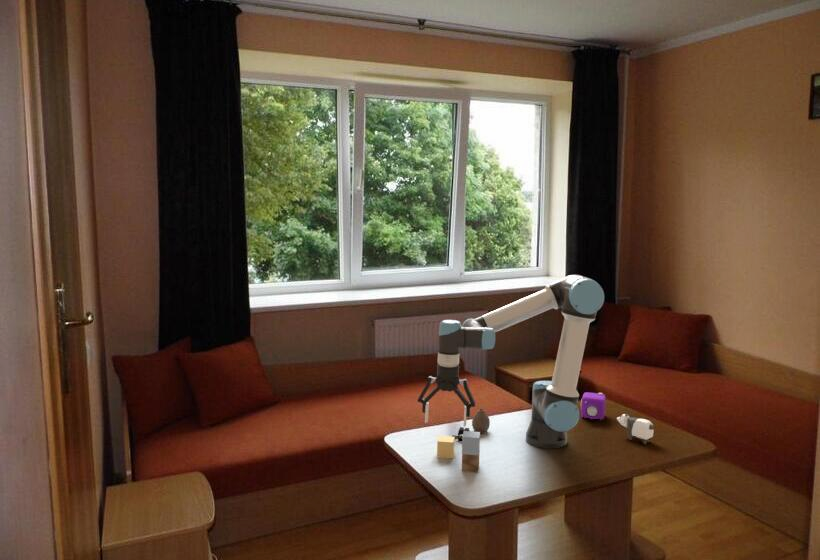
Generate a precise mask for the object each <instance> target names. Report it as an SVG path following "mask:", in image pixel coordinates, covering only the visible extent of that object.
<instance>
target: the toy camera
mask: <svg viewBox="0 0 820 560" xmlns="http://www.w3.org/2000/svg"><path fill="white" fill-rule="evenodd" d="M581 397H582V398H581V400H580V417H581V418H583V417H584V418H583V419H586V418H590V419H589V420H593V419H603V420H604V418H605V415H606V406H607V405H606V404H607V403H606V402H607V399H606V398H607V397H606V395H605V394H604V393H603V392H597V393H596V392H588V391H587V392H584V393H583V394H582V396H581Z"/></svg>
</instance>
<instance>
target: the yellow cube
mask: <svg viewBox="0 0 820 560" xmlns="http://www.w3.org/2000/svg"><path fill="white" fill-rule="evenodd" d="M454 439H455V437H452V436H449V435H439V436H438V439H437V442H436V443H437V444H436V445H437V447H436V450H437V451H436V458H437V457H443V458H442V459H448V458H454V454H455V441H454Z"/></svg>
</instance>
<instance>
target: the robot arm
mask: <svg viewBox="0 0 820 560" xmlns="http://www.w3.org/2000/svg"><path fill="white" fill-rule="evenodd" d="M603 289H604V288H602V286H601V285H600V284H599V283H598V282H597V281H596V280H594V279H592V278H589V277H587V276H583V275H581V274H570V275H566V276H564V277H562V278H560V279H557V280H555V281H553V282H551V283H548V284H545V287H544V289H541V290H539V291H537V292H535V293H532V294H529V295H528V296H525V297H523V298H520V299H518V300H516V301H513V302H511V303H509V304H506V305H504V306H502V307H500V308H497V309H495V310H492V311H490V312H488V313H486V314H483V315H481V316H478V317H476V318H467V319H466V320H464V322H463V323H462V322H461V321H459V320H456V319H443V320H441V321H440V322H439V328H438V329H439V330H438V339H437V340H438V341H437V344H438V345H437V346H438V347H437V369H436V372H437V373H436V377H433V376H432V375H429V376H428V377H427V381H426V384H425V386H424V388H423V390H422V391H421V393H420V394H419V396H418V399H417V402H418V403H421V404H422V410H421V411H422V414H423V413H424V414H425V415H424V423H425V424H427V423H428V422H429V408H430V407H429V406H430V405H429V401H430V400H431V399H432V398H433V397H434V396H435V395H436V394H437V393H438V392H439V391H442V392H449V393H450V392H454V393H455V394H456V395H457V397H458V398H459V400H460V401H461V402H462V403H463V405H464V409H463V410H464V411H463V427H464V428H467V427H466V426H467V418H469V417H470V416H471V408H474V407H476V404H477V402H476V400H475V398H474V396H473V394H472V392H471V390H470V387H469V385H468V379H467V378H464V379H460V377H459V376H460V375H459V372H460V371H459V370H460V366H459V364H460V355H461V353H460V350H461V349H463V350H464V349H469V350H470V349H471V350H492V349H494V348H495V344H496V333H497V332H499V331H502V330H504V329H508V328H509V327H512V326H513V325H516V324H518V323H521V322H523V321H526V320H528V319H530V318H533V317H535V316H537V315H540V314H542V313H545V312H547V311H549V310H551V309H554V310H559V309H560V308H561V315H562V316H563V317H564V320H563V324H562V330H561V335H560V340H559V344H558V350H557V353H556V357H555V358H556V359H555V363H554V369H553V372H552V373H553V374H552V378H551V380H538V381H535V382H533V386H532V389H531V390H532V396H531V397H532V398H531V399H532V400H531V419H530V422H529V425H528V428H527V431H526V433H525V440H526V442H527V443H528V444H530V445H531V446H534V447H537V448H541V449H550V450H551V449H552V448H553V449H560V447H561V448H563V446H564V447H565V446H566V445H567V443H568V441H567V440H568V437H567V431H570V430H571V429H573V428H575V427H576V426H577V424H578V422H579V421H580V411H579V408H578V403H579V399H580V398H579V397H580V394H579V392H578V390H577V385H578V381H579V376H580V371H581V367H582V362H583V357H584V352H585V349H586V342H587V337H588V334H589V328H590V323H592V322H594V321H595V320H596V316H597V313H598V311H599V310H600V309H601V308H602V307H603V305H604V302H605V292H604V290H603ZM434 382H435V383H436V384H437V385H436V387H435V388H433V390H432V391H430V392H429V394H427V395H426V393H427V391H428V389H430V386H431V384H433V383H434ZM459 384H461V385H460V386H462V387H463V388H464V391H465V393H466V395H467V396H465V395H464V393H463V392H462V391H461V390H460V388H459ZM425 395H426V397H425V398H424V396H425ZM466 397H467V398H466Z"/></svg>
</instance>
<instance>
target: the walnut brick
mask: <svg viewBox="0 0 820 560" xmlns="http://www.w3.org/2000/svg"><path fill="white" fill-rule="evenodd" d="M480 451H481V449H479V455H468V454H462V453H461V471H462V472H471V473H479V469H480Z"/></svg>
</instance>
